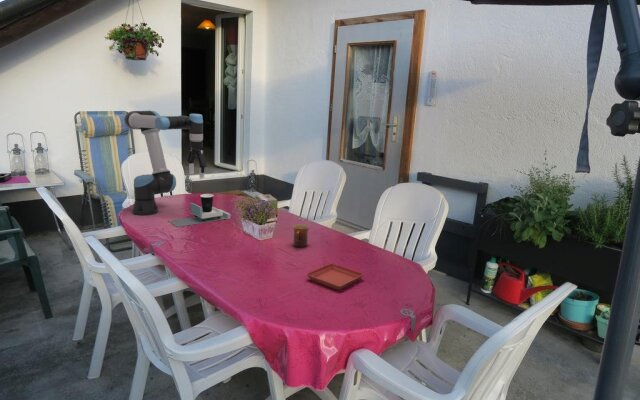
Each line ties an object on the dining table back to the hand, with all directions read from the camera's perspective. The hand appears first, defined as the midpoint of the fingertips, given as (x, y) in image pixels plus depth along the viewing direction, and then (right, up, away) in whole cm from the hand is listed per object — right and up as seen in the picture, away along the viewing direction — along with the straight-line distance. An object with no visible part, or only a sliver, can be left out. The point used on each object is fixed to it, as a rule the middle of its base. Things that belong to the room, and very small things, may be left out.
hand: (196, 176), depth 259 cm
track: (+1, -27, +3) cm, 27 cm away
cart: (+5, -26, +7) cm, 27 cm away
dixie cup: (+5, -22, +6) cm, 24 cm away
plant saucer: (+81, -49, -74) cm, 120 cm away
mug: (+63, -39, -35) cm, 82 cm away
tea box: (+41, -27, +9) cm, 50 cm away
